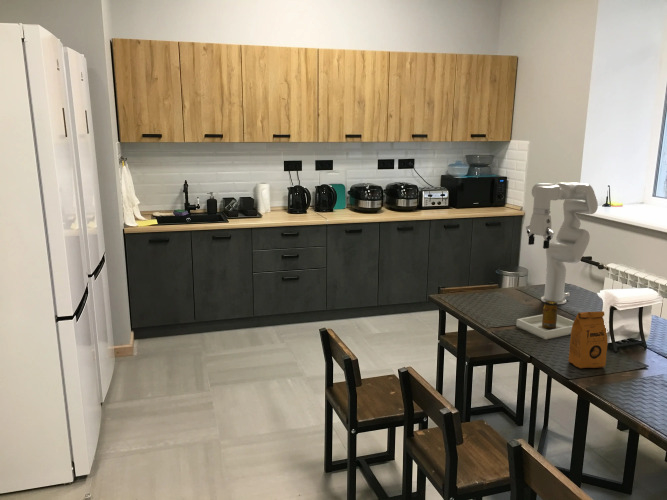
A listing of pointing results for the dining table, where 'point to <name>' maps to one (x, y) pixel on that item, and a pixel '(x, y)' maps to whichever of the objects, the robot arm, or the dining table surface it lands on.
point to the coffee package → (588, 340)
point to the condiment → (549, 316)
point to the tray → (535, 321)
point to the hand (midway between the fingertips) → (538, 246)
